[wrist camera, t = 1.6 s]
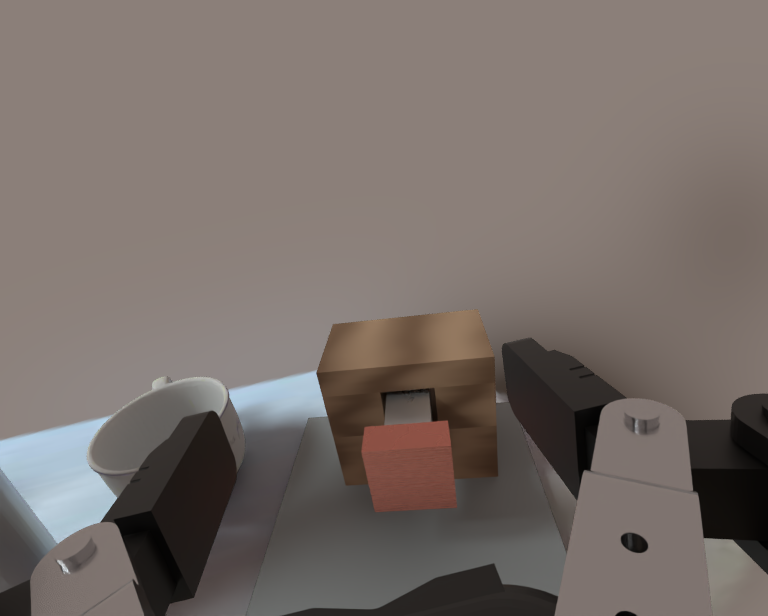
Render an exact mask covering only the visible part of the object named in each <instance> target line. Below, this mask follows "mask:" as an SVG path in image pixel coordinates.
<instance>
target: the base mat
mask: <svg viewBox="0 0 768 616" xmlns="http://www.w3.org/2000/svg"><path fill="white" fill-rule="evenodd" d="M496 424H497V456H498V477H482V478H465V479H454V481H455V491H456V501H457V508H445V509H426V510H407V511H388V512H375V510H374V506H373V501H372V497H371V493H370V488H369V484H366V485H349V486H346V485H345V481H344V477H343V473H342V469H341V465H340V462H339V458H338V454H337V450H336V446H335V442H334V439H333V435H332V431H331V427H330V423H329V419H328V417H316V418H308V421H307V424H306V428H305V431H304V434H303V437H302V440H301V443H300V446H299V450H298V453H297V456H296V459H295V462H294V465H293V468H292V472H291V475H290V478H289V481H288V484H287V487H286V490H285V494H284V497H283V500H282V503H281V506H280V509H279V512H278V516H277V519H276V522H275V525H274V528H273V531H272V534H271V538H270V541H269V544H268V547H267V550H266V553H265V556H264V560H263V563H262V566H261V569H260V572H259V575H258V578H257V582H256V585H255V588H254V591H253V594H252V597H251V600H250V604H249V607H248V610H247V613H246V616H282V615H286V614H290V613H294V612H298V611H302V610H306V609H310V608H340V609H376V608H379V607H381V606H383V605H385V604H387V603H389V602H391V601H393V600H395V599H397V598H398V597H400V596H402V595H404V594H406V593H408V592H410V591H412V590H413V589H415V588H417V587H419V586H421V585H423V584H425V583H426V582H428V581H430V580H432V579H434V578H436V577H440V576H444V575H448V574H452V573H456V572H460V571H464V570H468V569H472V568H476V567H481V566H485V565H489V564H493V563H494V564H495V566H496V569H497V571H498V574H499V576H500V579H501V582H502V584H512V585H520V586H526V587H531V588H535V589H539V590H542V591H546V592H548V593H551V594H553V595H556V596H559V591H560V586H561V581H562V575H563V570H564V565H565V560H566V555H567V553H566V550H565V547H564V545H563V542H562V539H561V536H560V533H559V531H558V528H557V525H556V522H555V520H554V517H553V514H552V511H551V508H550V506H549V503H548V500H547V497H546V494H545V492H544V489H543V486H542V483H541V480H540V478H539V475H538V472H537V469H536V467H535V464H534V461H533V458H532V455H531V453H530V450H529V447H528V444H527V441H526V439H525V436H524V433H523V430H522V427H521V425H520V422H519V420H518V419H517V418H516V416H515V415H514V413H513V411H512V408H511V406H510V403H509V402H505V403H496Z"/></svg>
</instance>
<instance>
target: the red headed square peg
mask: <svg viewBox="0 0 768 616" xmlns="http://www.w3.org/2000/svg"><path fill="white" fill-rule="evenodd" d="M361 453H362V457H363V462H364V466H365V470H366V475H367V479H368V484H369V488H370V493H371V497H372V501H373V506H374V510H375V512H388V511H407V510H426V509H445V508H457V501H456V491H455V481H454V470H453V460H452V450H451V441H450V433H449V426H448V421H435V422H433V418H432V406H431V396H430V388H427V389H415V390H403V391H391V392H387V395H386V409H385V423H384V425H382V426H369V427H365V428H364V436H363V443H362V451H361Z"/></svg>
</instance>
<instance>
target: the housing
mask: <svg viewBox="0 0 768 616" xmlns="http://www.w3.org/2000/svg"><path fill="white" fill-rule="evenodd" d="M317 377H318V381H319V385H320V389H321V392H322V396H323V400H324V404H325V408H326V412H327V416H328V419H329V423H330V427H331V431H332V435H333V439H334V442H335V446H336V450H337V454H338V458H339V462H340V465H341V469H342V473H343V477H344V481H345V485H346V486H349V485H366V484H368V479H367V475H366V470H365V466H364V462H363V457H362V453H361V451H362V443H363V436H364V428H365V427H369V426H382V425H384V423H385V409H386V395H387V392H391V391H403V390H415V389H427V388H430V396H431V406H432V418H433V422H435V421H448V426H449V433H450V441H451V450H452V460H453V470H454V479H465V478H482V477H498V456H497V424H496V392H495V359H494V354H493V351H492V348H491V346H490V343H489V340H488V337H487V334H486V331H485V329H484V326H483V323H482V320H481V317H480V314H479V311H478V310H477V309H475V310H465V311H456V312H446V313H437V314H427V315H418V316H409V317H399V318H389V319H379V320H371V321H360V322H351V323H341V324H333V326H332V329H331V332H330V335H329V338H328V341H327V344H326V346H325V349H324V352H323V355H322V358H321V361H320V364H319V367H318V370H317Z"/></svg>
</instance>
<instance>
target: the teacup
mask: <svg viewBox="0 0 768 616" xmlns="http://www.w3.org/2000/svg"><path fill="white" fill-rule="evenodd" d="M152 388H153V390H151V391H149V392H147V393H145V394H143V395H142V396H140V397H138V398H136V399H134V400H133V401H131V402H130V403H128V404H127V405H125V406H124V407H122V408H121V409H120V410H119V411H117V412H116V413H115V414H114V415H113V416H112V417H111V418H109V419H108V420H107V421H106V422H105V423H104V424H103V425H102V427H101V428H100V429H99V430H98V431H97V433H96V434H95V436H94V437H93V439H92V440H91V442H90V444H89V447H88V451H87V461H88V464H89V466H90V467H91V468H92V469H93V470H94V471H95V472H97V473H98V474H99V475H100V476H101V478H102V479H103V480H104V482H105V483H106V484H107V486H108V487H109V488H110V489H111V491H112V492H113V493H114V494H115V495H116V497H117V498H118V497H119V496H120V494H121V493H122V491H123V490H124V489H125V487H126V486H127V484H130V480H131V479H132V477H133V476H134V475H135V473H136V472H137V471H139V468H140V466H141V465H142V463H143V462H144V461H145V459H146V458H147V456H148V455H149V454H150V453H151V452H152V451H153V450H154V449H156V448H157V447H158V446H159V445H160V444H161V443H163V442H164V441H165V440H166V439H168V438H169V437H170V435H171V434H172V433H173V431H174V430H175V428H176V427H177V425H178V424H179V422H180V421H181V419H182V418H183V417H185V416H190V415H194V414H198V413H203V412H207V411H211V410H213V411H215V412H216V413H217V414H218V416H219V418H220V420H221V423H222V426H223V428H224V431H225V433H226V436H227V438H228V441H229V444H230V446H231V449H232V451H233V454H234V457H235V460H236V466H237V472H238V470H239V468H240V466H241V464H242V461H243V458H244V454H245V436H244V432H243V429H242V426H241V423H240V420H239V418H238V415H237V413H236V411H235V408H234V406H233V404H232V402H231V400H230V398H229V392H228V389H227V388H226V386H225V385H224V384H223V383H222V382H221V381H219V380H217V379H214V378H209V377H193V378H187V379H182V380H178V381H175V382H172V380H171V379H170V378H169V377H168V376H165V377H161V378H158V379H156V380H155V381H154V382H153V384H152Z"/></svg>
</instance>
